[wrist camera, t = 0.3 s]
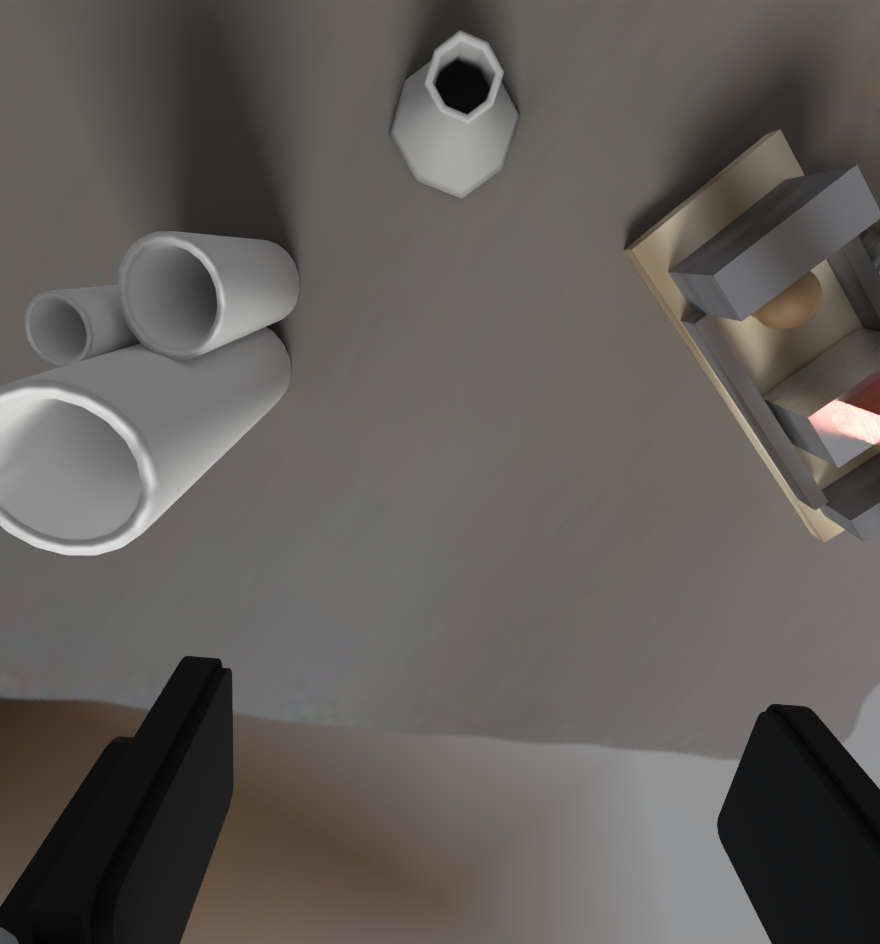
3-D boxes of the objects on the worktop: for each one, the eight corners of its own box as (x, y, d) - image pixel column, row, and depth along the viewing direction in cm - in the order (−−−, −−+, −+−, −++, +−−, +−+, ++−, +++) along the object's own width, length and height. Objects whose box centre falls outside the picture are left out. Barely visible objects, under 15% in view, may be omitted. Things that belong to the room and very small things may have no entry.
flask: (444, 21, 32) (450, -76, 22) (541, 115, 33) (585, 61, 24) (367, 138, 34) (344, 93, 24) (463, 221, 35) (475, 209, 26)
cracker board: (765, 134, 34) (854, 102, 27) (937, 453, 41) (1041, 493, 34) (624, 249, 36) (671, 248, 29) (811, 533, 43) (885, 587, 36)
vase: (288, 420, 40) (163, 568, 21) (182, 403, 39) (-46, 540, 20) (303, 246, 36) (163, 236, 17) (185, 225, 35) (-95, 190, 16)
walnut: (777, 252, 35) (818, 251, 31) (804, 299, 36) (847, 304, 32) (725, 291, 36) (759, 295, 32) (753, 337, 37) (789, 346, 33)
